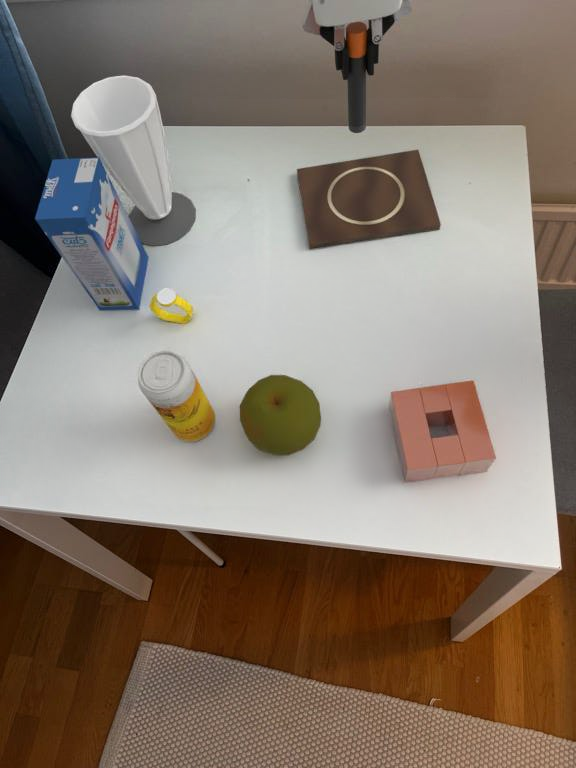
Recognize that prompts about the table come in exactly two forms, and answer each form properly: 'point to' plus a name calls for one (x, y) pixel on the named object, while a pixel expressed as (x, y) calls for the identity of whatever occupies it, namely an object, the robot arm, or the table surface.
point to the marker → (357, 76)
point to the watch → (168, 299)
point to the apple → (280, 415)
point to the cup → (135, 154)
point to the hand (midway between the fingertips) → (356, 69)
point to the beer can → (176, 395)
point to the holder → (443, 454)
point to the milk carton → (93, 232)
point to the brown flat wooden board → (366, 199)
